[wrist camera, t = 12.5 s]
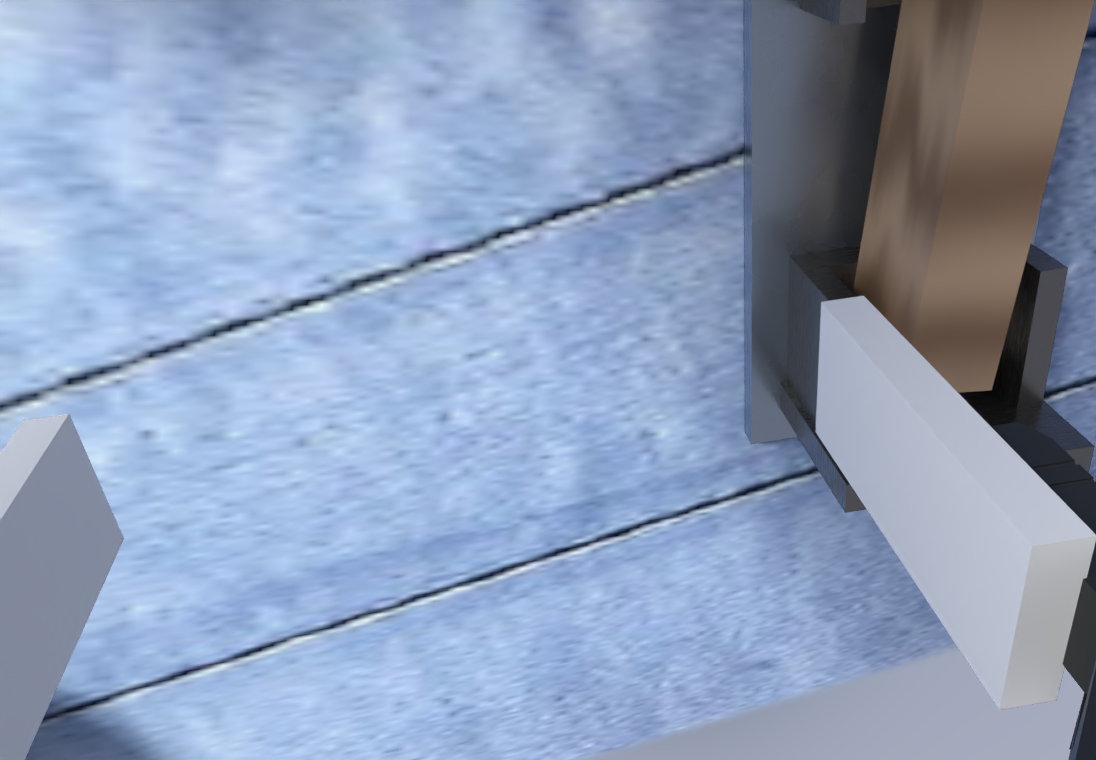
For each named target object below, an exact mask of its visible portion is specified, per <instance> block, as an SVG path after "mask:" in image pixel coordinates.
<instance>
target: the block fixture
mask: <svg viewBox="0 0 1096 760" xmlns="http://www.w3.org/2000/svg"><path fill="white" fill-rule="evenodd" d="M901 3H902V0H744V327H745V433H746V435H747V437H748V439H749V441H750V443H751V444H755V443H762V442H768V441H775V440H781V439H788V438H794V437H798V438H799V440H800V441H801V443H802V444H803V446H804V448H805V449H806V451H807V452H808V454H809V456H810V457H811V459H812V460H813V462H814V464H815V465H816V467H817V468H818V470H819V472H820V473H821V475H822V476H823V478H824V480H825V481H826V483H827V485H828V486H829V488H830V489H831V491H832V493H833V494H834V496H835V497H836V499H837V501H838V502H839V504H840V505H841V507H842V509H843V510H844V512H852V511H858V510H864V509H866V508H865V506H864V505H863V503H862V502H861V500H860V498H859V497H858V495H857V494H856V492H855V491H854V489H853V488H852V486H851V485H850V483H849V482H848V480H847V479H846V477H845V476H844V474H843V473H842V471H841V470H840V468H839V467H838V465H837V464H836V462H835V461H834V459H833V458H832V456H831V455H830V453H829V452H828V450H827V449H826V447H825V446H824V444H823V442H822V441H821V439H820V438H819V436H818V435H817V433H816V409H817V387H818V364H819V341H820V318H821V302H824V301H831V300H838V299H845V298H851V297H856V296H855V295H854V294H853V288H854V282H855V276H856V270H857V265H858V259H859V253H860V247H861V241H862V235H863V229H864V223H865V217H866V211H867V205H868V199H869V193H870V187H871V181H872V175H873V169H874V163H875V157H876V151H877V145H878V140H879V134H880V128H881V122H882V116H883V110H884V104H885V98H886V92H887V86H888V80H889V74H890V68H891V62H892V56H893V50H894V44H895V38H896V32H897V26H898V20H899V15H900V9H901ZM1040 208H1041V206H1040ZM1039 214H1040V210H1039V213H1038V217H1037V221H1036V225H1035V228H1034V232H1033V236H1032V240H1031V244H1030V247H1029V251H1028V255H1027V259H1026V262H1025V266H1024V270H1023V274H1022V278H1021V281H1020V285H1019V289H1018V293H1017V296H1016V300H1015V304H1014V308H1013V312H1012V315H1011V319H1010V323H1009V327H1008V331H1007V334H1006V338H1005V342H1004V346H1003V349H1002V353H1001V357H1000V361H999V365H998V368H997V372H996V376H995V380H994V383H993V387H992V390H990V391H974V392H959V394H960V395H961V396H962V397H963V398H964V399H965V401H966V402H967V403H968V404H969V405H970V406H971V407H972V408H973V409H974V410H975V411H976V412H977V413H978V414H979V415H980V416H981V417H982V418H983V419H984V420H985V421H986V422H987V423H988V424H989V425H990V426H995V425H1001V424H1007V423H1014V422H1020V423H1022V424H1024V425H1026V426H1028V427H1030V428H1032V429H1034V430H1036V431H1038V432H1040V433H1042V434H1044V435H1046V436H1048V437H1050V438H1052V439H1053V440H1054V441H1055V442H1056V443H1057V444H1058V445H1059V446H1061V447H1062V448H1063V449H1064V450H1065V451H1066V452H1067V453H1068V454H1069V455H1070V456H1071V457H1072V458H1073V459H1074V460H1075V464H1076V465H1078V464H1080V465H1081V466H1082V467H1083V468H1084V469H1085V470H1086V471H1087V472H1089V468H1090V464H1091V459H1092V455H1093V450H1094V445H1092V444H1091V443H1090V442H1089V441H1088V440H1087V439H1086V438H1085V437H1084V436H1082V435H1081V434H1080V433H1079V432H1078V431H1077V430H1076V429H1075V428H1074V427H1072V426H1071V425H1070V424H1069V423H1068V422H1067V421H1066V420H1065V419H1063V418H1062V417H1061V416H1060V415H1059V414H1058V413H1057V412H1056V411H1055V410H1053V409H1052V408H1051V407H1050V406H1049V405H1048V404H1047V403H1046V402H1045V401H1043V397H1044V392H1045V386H1046V381H1047V376H1048V370H1049V365H1050V360H1051V355H1052V349H1053V344H1054V339H1055V333H1056V328H1057V323H1058V317H1059V312H1060V307H1061V302H1062V296H1063V291H1064V286H1065V280H1066V275H1067V270H1068V267H1066V266H1065V265H1063V264H1062V263H1060V262H1059V261H1057V260H1055V259H1054V258H1052V257H1051V256H1049V255H1048V254H1046V253H1045V252H1043V251H1042V250H1040V249H1039V248H1037V247H1036V246H1034V244H1035V238H1036V232H1037V226H1038V220H1039Z"/></svg>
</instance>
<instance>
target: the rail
mask: <svg viewBox="0 0 1096 760" xmlns="http://www.w3.org/2000/svg"><path fill="white" fill-rule="evenodd" d="M1094 2H1095V0H902V3H901V9H900V15H899V20H898V26H897V32H896V38H895V44H894V50H893V56H892V62H891V68H890V74H889V80H888V86H887V92H886V98H885V104H884V110H883V116H882V122H881V128H880V134H879V140H878V145H877V151H876V157H875V163H874V169H873V175H872V181H871V187H870V193H869V199H868V205H867V211H866V217H865V223H864V229H863V235H862V241H861V247H860V253H859V259H858V265H857V270H856V276H855V282H854V288H853V294H854V295H855V296H856V297H858V296H864V297H865V298H866V299H867V300H868V301H869V302H870V303H871V304H872V305H873V306H874V307H875V308H876V309H877V310H878V311H879V312H880V313H881V314H882V315H883V316H884V317H885V318H886V319H887V320H888V321H889V322H890V323H891V324H892V325H893V326H894V327H895V328H896V329H897V331H898V332H899V333H900V334H901V335H902V336H903V337H904V338H905V339H906V340H907V341H908V342H909V343H910V344H911V345H912V346H913V347H914V348H915V349H916V350H917V351H918V352H919V353H920V354H921V355H922V356H923V357H924V358H925V359H926V360H927V361H928V362H929V363H930V364H931V366H932V367H933V368H934V369H935V370H936V371H937V372H938V373H939V374H940V375H941V376H942V377H943V378H944V379H945V380H946V381H947V382H948V383H949V384H950V385H951V386H952V387H953V388H954V389H955V390H956V391H957V392H958V393H959V392H974V391H990V390H992V387H993V383H994V380H995V376H996V372H997V368H998V365H999V361H1000V357H1001V353H1002V349H1003V346H1004V342H1005V338H1006V334H1007V331H1008V327H1009V323H1010V319H1011V315H1012V312H1013V308H1014V304H1015V300H1016V296H1017V293H1018V289H1019V285H1020V281H1021V278H1022V274H1023V270H1024V266H1025V262H1026V259H1027V255H1028V251H1029V247H1030V244H1031V240H1032V236H1033V232H1034V228H1035V225H1036V221H1037V217H1038V213H1039V210H1040V206H1041V202H1042V198H1043V194H1044V191H1045V187H1046V183H1047V179H1048V176H1049V172H1050V168H1051V164H1052V160H1053V157H1054V153H1055V149H1056V145H1057V142H1058V138H1059V134H1060V130H1061V126H1062V123H1063V119H1064V115H1065V111H1066V108H1067V104H1068V100H1069V96H1070V92H1071V89H1072V85H1073V81H1074V77H1075V73H1076V70H1077V66H1078V62H1079V58H1080V55H1081V51H1082V47H1083V43H1084V39H1085V36H1086V32H1087V28H1088V24H1089V21H1090V17H1091V13H1092V9H1093V5H1094Z"/></svg>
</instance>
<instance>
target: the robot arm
mask: <svg viewBox="0 0 1096 760" xmlns="http://www.w3.org/2000/svg"><path fill="white" fill-rule="evenodd" d="M816 433H817V435H818V436H819V438H820V439H821V441H822V442H823V444H824V446H825V447H826V449H827V450H828V452H829V453H830V455H831V456H832V458H833V459H834V461H835V462H836V464H837V465H838V467H839V468H840V470H841V471H842V473H843V474H844V476H845V477H846V479H847V480H848V482H849V483H850V485H851V486H852V488H853V489H854V491H855V492H856V494H857V495H858V497H859V498H860V500H861V502H862V503H863V505H864V506H865V508H866V509H867V511H868V512H869V514H870V515H871V517H872V518H873V520H874V521H875V523H876V524H877V526H878V527H879V529H880V530H881V532H882V533H883V535H884V536H885V538H886V539H887V541H888V542H889V544H890V545H891V547H892V548H893V550H894V551H895V553H896V555H897V556H898V558H899V559H900V561H901V562H902V564H903V565H904V567H905V568H906V570H907V571H908V573H909V574H910V576H911V577H912V579H913V580H914V582H915V583H916V585H917V586H918V588H919V589H920V591H921V592H922V594H923V595H924V597H925V598H926V600H927V601H928V603H929V604H930V606H931V607H932V609H933V611H934V612H935V614H936V615H937V617H938V618H939V620H940V621H941V623H942V624H943V626H944V627H945V629H946V630H947V632H948V633H949V635H950V636H951V638H952V639H953V641H954V642H955V644H956V645H957V647H958V648H959V650H960V651H961V653H962V654H963V656H964V657H965V659H966V660H967V662H968V664H969V665H970V667H971V668H972V669H973V671H974V673H975V674H976V676H977V677H978V679H979V680H980V682H981V683H982V685H983V686H984V688H985V689H986V691H987V692H988V694H989V695H990V697H991V698H992V700H993V701H994V703H995V704H996V706H997V707H998V709H999V710H1003V709H1009V708H1015V707H1021V706H1027V705H1033V704H1039V703H1045V702H1051V701H1056V700H1057V697H1058V693H1059V689H1060V685H1061V681H1062V677H1063V673H1064V669H1065V668H1066V669H1067V670H1068V672H1069V673H1070V674H1071V676H1072V677H1073V678H1074V680H1075V681H1076V682H1077V683H1078V685H1079V686H1080V687H1081V688H1082V690H1083V691H1084V697H1083V700H1082V704H1081V708H1080V711H1079V716H1078V719H1077V723H1076V727H1075V730H1074V734H1073V738H1072V742H1071V745H1070V749H1071V751H1070V756H1069V760H1096V482H1094V480H1093V477H1092V476H1091V475H1090V474H1089V473H1088V472H1087V471H1086V470H1085V469H1084V468H1083V467H1082V466H1081V465H1080V464H1078V465H1076V464H1075V460H1074V459H1073V458H1072V457H1071V456H1070V455H1069V454H1068V453H1067V452H1066V451H1065V450H1064V449H1063V448H1062V447H1061V446H1059V445H1058V444H1057V443H1056V442H1055V441H1054V440H1053V439H1052V438H1050V437H1048V436H1046V435H1044V434H1042V433H1040V432H1038V431H1036V430H1034V429H1032V428H1030V427H1028V426H1026V425H1024V424H1022V423H1020V422H1014V423H1007V424H1001V425H995V426H990V425H989V424H988V423H987V422H986V421H985V420H984V419H983V418H982V417H981V416H980V415H979V414H978V413H977V412H976V411H975V410H974V409H973V408H972V407H971V406H970V405H969V404H968V403H967V402H966V401H965V399H964V398H963V397H962V396H961V395H960V394H959V393H958V392H957V391H956V390H955V389H954V388H953V387H952V386H951V385H950V384H949V383H948V382H947V381H946V380H945V379H944V378H943V377H942V376H941V375H940V374H939V373H938V372H937V371H936V370H935V369H934V368H933V367H932V366H931V364H930V363H929V362H928V361H927V360H926V359H925V358H924V357H923V356H922V355H921V354H920V353H919V352H918V351H917V350H916V349H915V348H914V347H913V346H912V345H911V344H910V343H909V342H908V341H907V340H906V339H905V338H904V337H903V336H902V335H901V334H900V333H899V332H898V331H897V329H896V328H895V327H894V326H893V325H892V324H891V323H890V322H889V321H888V320H887V319H886V318H885V317H884V316H883V315H882V314H881V313H880V312H879V311H878V310H877V309H876V308H875V307H874V306H873V305H872V304H871V303H870V302H869V301H868V300H867V299H866V298H865V297H864V296H858V297H851V298H845V299H838V300H831V301H824V302H821V318H820V341H819V364H818V387H817V409H816ZM123 539H124V538H123V535H122V533H121V531H120V528H119V526H118V524H117V522H116V519H115V517H114V515H113V513H112V510H111V508H110V506H109V503H108V501H107V499H106V497H105V494H104V492H103V490H102V487H101V485H100V483H99V481H98V478H97V476H96V474H95V472H94V469H93V467H92V465H91V462H90V460H89V458H88V456H87V453H86V451H85V449H84V447H83V444H82V442H81V440H80V437H79V435H78V433H77V431H76V428H75V426H74V424H73V422H72V419H71V417H70V415H69V414H63V415H57V416H50V417H43V418H36V419H30V420H24V421H23V422H22V423H21V425H20V426H19V428H18V429H17V430H16V432H15V433H14V435H13V436H12V437H11V439H10V440H9V442H8V443H7V444H6V446H5V447H4V448H3V450H2V451H1V453H0V760H25V758H26V756H27V754H28V751H29V749H30V747H31V745H32V742H33V740H34V738H35V736H36V733H37V731H38V729H39V727H40V725H41V722H42V720H43V718H44V716H45V713H46V711H47V709H48V707H49V704H50V702H51V700H52V698H53V696H54V693H55V691H56V689H57V687H58V684H59V682H60V680H61V678H62V675H63V673H64V671H65V669H66V667H67V664H68V662H69V660H70V658H71V655H72V653H73V651H74V649H75V646H76V644H77V642H78V640H79V638H80V635H81V633H82V631H83V629H84V626H85V624H86V622H87V620H88V617H89V615H90V613H91V611H92V609H93V606H94V604H95V602H96V600H97V597H98V595H99V593H100V591H101V588H102V586H103V584H104V582H105V580H106V577H107V575H108V573H109V571H110V568H111V566H112V564H113V562H114V559H115V557H116V555H117V553H118V551H119V548H120V546H121V544H122V542H123Z"/></svg>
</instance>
